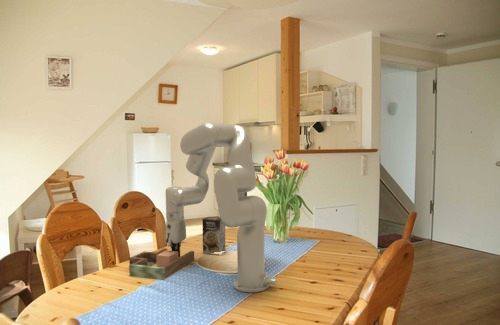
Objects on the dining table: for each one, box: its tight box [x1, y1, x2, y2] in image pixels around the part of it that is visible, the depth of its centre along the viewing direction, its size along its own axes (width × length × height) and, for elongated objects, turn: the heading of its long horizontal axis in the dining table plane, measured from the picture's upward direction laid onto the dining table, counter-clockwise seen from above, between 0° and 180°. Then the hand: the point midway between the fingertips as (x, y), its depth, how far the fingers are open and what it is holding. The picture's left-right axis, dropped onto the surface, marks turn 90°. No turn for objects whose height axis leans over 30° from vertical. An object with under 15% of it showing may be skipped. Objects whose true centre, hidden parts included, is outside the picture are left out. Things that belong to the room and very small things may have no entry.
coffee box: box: [202, 216, 227, 255], centre depth 171 cm, size 9×6×16 cm
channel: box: [128, 248, 195, 280], centre depth 152 cm, size 21×24×4 cm
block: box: [156, 249, 179, 267], centre depth 154 cm, size 6×8×5 cm
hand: (176, 257), depth 160 cm, fingers closed
